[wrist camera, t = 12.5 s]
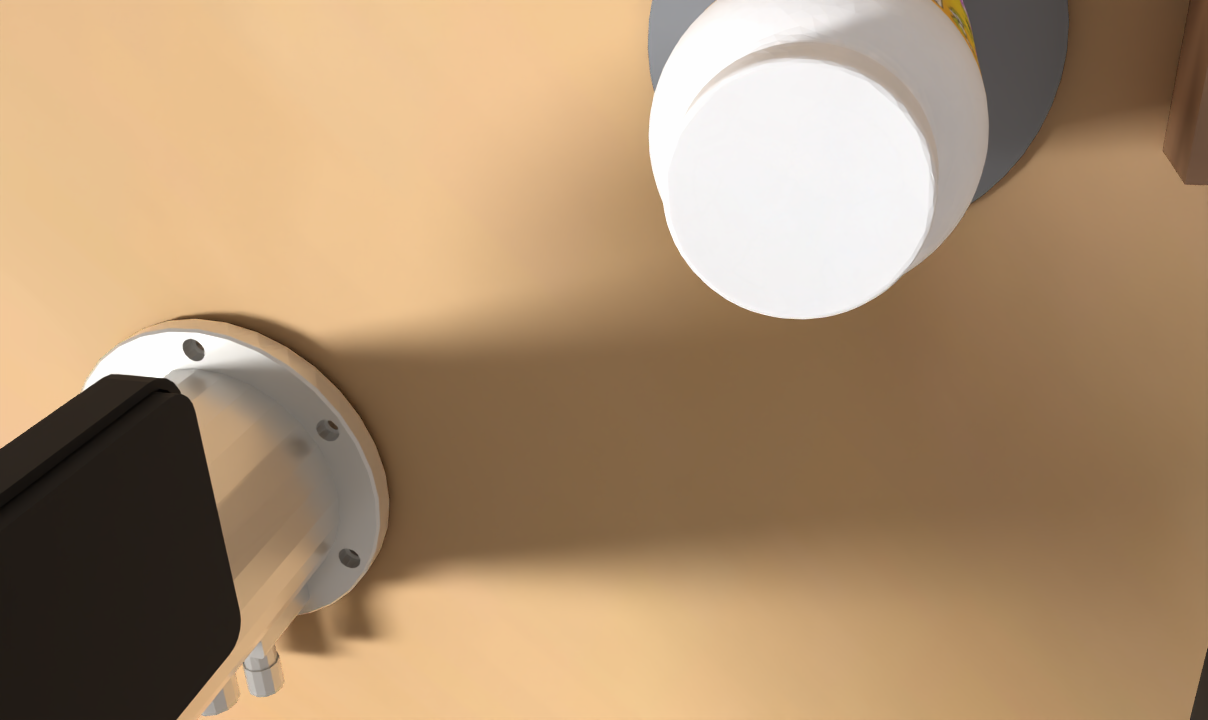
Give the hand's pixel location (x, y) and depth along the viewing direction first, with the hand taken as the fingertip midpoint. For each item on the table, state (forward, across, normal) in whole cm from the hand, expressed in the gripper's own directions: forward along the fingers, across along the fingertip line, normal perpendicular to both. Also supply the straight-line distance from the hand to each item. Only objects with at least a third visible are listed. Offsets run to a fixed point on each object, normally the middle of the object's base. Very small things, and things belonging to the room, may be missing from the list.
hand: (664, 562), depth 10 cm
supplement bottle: (+24, 0, 0) cm, 24 cm away
